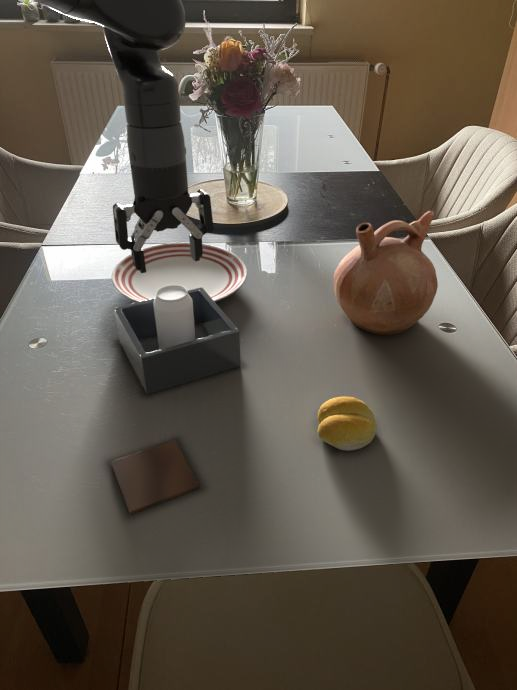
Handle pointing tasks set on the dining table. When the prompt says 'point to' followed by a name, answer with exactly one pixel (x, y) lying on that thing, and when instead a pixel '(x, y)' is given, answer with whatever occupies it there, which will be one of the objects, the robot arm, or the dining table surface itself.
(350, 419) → the bread roll
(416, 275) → the jug
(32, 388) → the dining table surface
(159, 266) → the dinner plate
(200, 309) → the grey open box
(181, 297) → the beverage can
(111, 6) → the robot arm
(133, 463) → the coaster
